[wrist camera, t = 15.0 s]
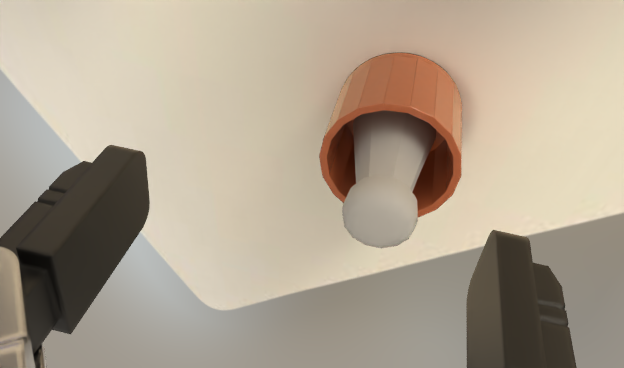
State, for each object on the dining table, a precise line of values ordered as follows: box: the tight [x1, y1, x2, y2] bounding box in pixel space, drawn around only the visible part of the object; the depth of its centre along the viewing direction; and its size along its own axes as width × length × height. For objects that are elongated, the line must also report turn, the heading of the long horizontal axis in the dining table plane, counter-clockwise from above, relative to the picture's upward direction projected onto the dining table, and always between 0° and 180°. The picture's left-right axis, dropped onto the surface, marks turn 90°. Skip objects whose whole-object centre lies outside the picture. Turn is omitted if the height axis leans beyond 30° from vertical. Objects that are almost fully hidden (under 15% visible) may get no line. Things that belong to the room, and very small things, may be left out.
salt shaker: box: [342, 110, 436, 248], centre depth 37 cm, size 6×6×13 cm
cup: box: [319, 53, 462, 217], centre depth 40 cm, size 9×9×8 cm
